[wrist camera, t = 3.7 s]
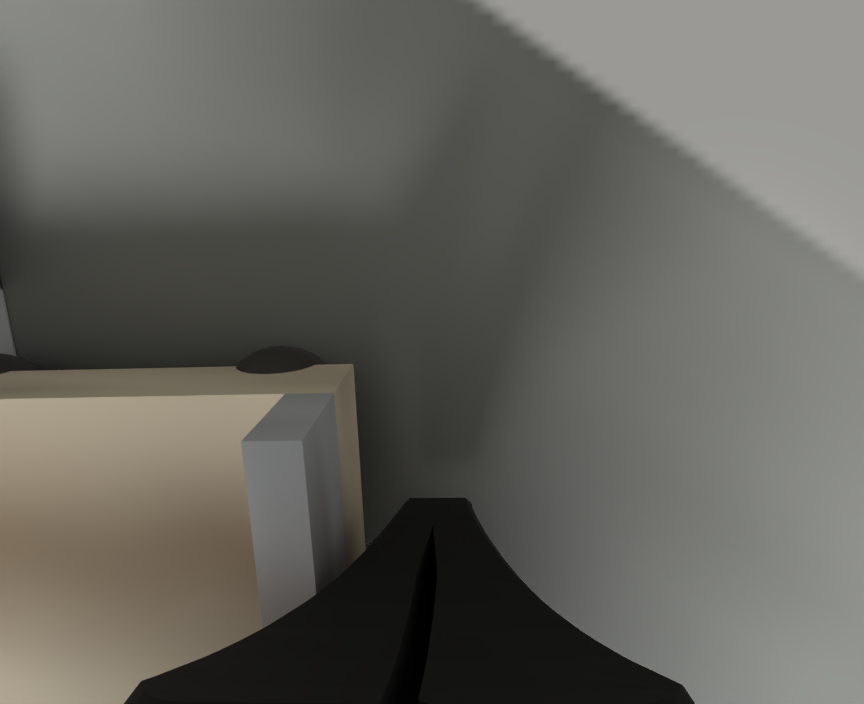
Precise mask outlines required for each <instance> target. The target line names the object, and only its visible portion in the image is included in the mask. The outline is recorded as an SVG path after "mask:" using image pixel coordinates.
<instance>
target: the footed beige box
mask: <svg viewBox="0 0 864 704" xmlns="http://www.w3.org/2000/svg"><path fill="white" fill-rule="evenodd" d="M365 550H366V545H365V530H364V515H363V501H362V486H361V471H360V456H359V441H358V426H357V411H356V396H355V381H354V366H353V364H326V363H325V362H324V361H322V360H321V359H320V358H319V357H317V356H315V355H314V354H312V353H310V352H308V351H305V350H303V349H299V348H295V347H288V346H279V347H270V348H266V349H263V350H260V351H257V352H255V353H253V354H251V355H249V356H248V357H246V358H245V359H243V360H242V361H241V362H240V363H239V364H238V365H237V366H231V367H183V368H135V369H87V370H41V369H40V368H39V367H37V366H36V365H34V364H33V363H31V362H29V361H27V360H25V359H22V358H19V357H16V356H13V355H8V354H2V353H0V704H124V702H125V701H126V700H127V699H128V697H129V696H130V695H131V693H132V692H133V691H134V689H135V688H136V687H137V686H138V684H139V683H140V682H141V681H142V680H145V679H148V678H151V677H154V676H157V675H159V674H162V673H164V672H167V671H170V670H172V669H175V668H177V667H180V666H182V665H185V664H188V663H190V662H193V661H195V660H198V659H200V658H203V657H205V656H208V655H210V654H212V653H214V652H217V651H219V650H221V649H223V648H225V647H227V646H229V645H231V644H233V643H236V642H238V641H240V640H242V639H244V638H246V637H247V636H249V635H251V634H253V633H255V632H257V631H259V630H261V629H263V628H264V627H266V626H268V625H270V624H271V623H273V622H274V621H276V620H278V619H279V618H281V617H282V616H284V615H285V614H287V613H289V612H290V611H292V610H293V609H295V608H297V607H298V606H300V605H301V604H303V603H305V602H306V601H307V600H309V599H310V598H312V597H313V596H314V595H316V594H317V593H318V592H320V591H321V590H322V589H324V588H325V587H326V586H327V585H329V584H330V583H331V582H333V581H334V580H335V579H336V578H337V577H339V576H340V575H341V574H342V573H343V572H344V571H345V570H346V569H347V568H348V567H349V566H350V565H351V564H352V563H353V562H354V561H355V560H356V559H357V558H358V557H359V556H360V555H361V554H362V553H363V552H364V551H365Z"/></svg>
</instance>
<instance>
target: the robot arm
mask: <svg viewBox="0 0 864 704" xmlns="http://www.w3.org/2000/svg"><path fill="white" fill-rule="evenodd" d="M124 704H695V703H694V702H693V700H692V698H691V697H690V695H689V694H688V692H687V691H686V689H685V688H684V687H683V686H682V685H681V684H679V683H677V682H675V681H673V680H671V679H668V678H666V677H664V676H662V675H660V674H658V673H656V672H654V671H652V670H649V669H647V668H645V667H643V666H641V665H639V664H637V663H635V662H633V661H630V660H628V659H627V658H625V657H623V656H621V655H619V654H618V653H616V652H614V651H613V650H611V649H609V648H607V647H606V646H604V645H602V644H601V643H599V642H597V641H596V640H594V639H593V638H591V637H590V636H588V635H586V634H585V633H583V632H582V631H580V630H579V629H577V628H576V627H575V626H573V625H572V624H571V623H569V622H568V621H567V620H565V619H564V618H563V617H561V616H560V615H559V614H557V613H556V612H555V611H554V610H552V609H551V608H550V607H549V606H548V605H546V604H545V603H544V602H543V601H542V600H541V599H540V598H539V597H538V596H537V595H536V594H534V593H533V592H532V591H531V590H530V589H529V588H528V586H527V585H526V584H525V583H524V582H523V581H522V580H521V579H520V578H519V577H518V576H517V574H516V573H515V572H514V571H513V570H512V568H511V567H510V566H509V565H508V564H507V562H506V561H505V560H504V558H503V557H502V556H501V555H500V553H499V552H498V550H497V549H496V547H495V546H494V545H493V543H492V542H491V540H490V539H489V537H488V536H487V534H486V533H485V531H484V529H483V528H482V526H481V524H480V522H479V521H478V519H477V517H476V515H475V513H474V510H473V508H472V504H471V503H470V502H469V501H468V500H467V499H466V498H410V499H409V500H407V501H406V502H405V503H404V505H403V506H402V507H401V509H400V510H399V511H398V513H397V514H396V515H395V516H394V518H393V519H392V520H391V521H390V523H389V524H388V525H387V526H386V528H385V529H384V530H383V531H382V532H381V533H380V535H379V536H378V537H377V538H376V539H375V540H374V541H373V542H372V544H371V545H370V546H369V547H368V548H367V549H366V550H365V551H364V552H363V553H362V554H361V555H360V556H359V557H358V558H357V559H356V560H355V561H354V562H353V563H352V564H351V565H350V566H349V567H348V568H347V569H346V570H345V571H344V572H343V573H342V574H341V575H340V576H339V577H337V578H336V579H335V580H334V581H333V582H331V583H330V584H329V585H327V586H326V587H325V588H324V589H322V590H321V591H320V592H318V593H317V594H316V595H314V596H313V597H312V598H310V599H309V600H307V601H306V602H305V603H303V604H301V605H300V606H298V607H297V608H295V609H293V610H292V611H290V612H289V613H287V614H285V615H284V616H282V617H281V618H279V619H278V620H276V621H274V622H273V623H271V624H270V625H268V626H266V627H264V628H263V629H261V630H259V631H257V632H255V633H253V634H251V635H249V636H247V637H246V638H244V639H242V640H240V641H238V642H236V643H233V644H231V645H229V646H227V647H225V648H223V649H221V650H219V651H217V652H214V653H212V654H210V655H208V656H205V657H203V658H200V659H198V660H195V661H193V662H190V663H188V664H185V665H182V666H180V667H177V668H175V669H172V670H170V671H167V672H164V673H162V674H159V675H157V676H154V677H151V678H148V679H145V680H142V681H141V682H140V683H139V684H138V686H137V687H136V688H135V689H134V691H133V692H132V693H131V695H130V696H129V697H128V699H127V700H126V701H125V702H124Z"/></svg>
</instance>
